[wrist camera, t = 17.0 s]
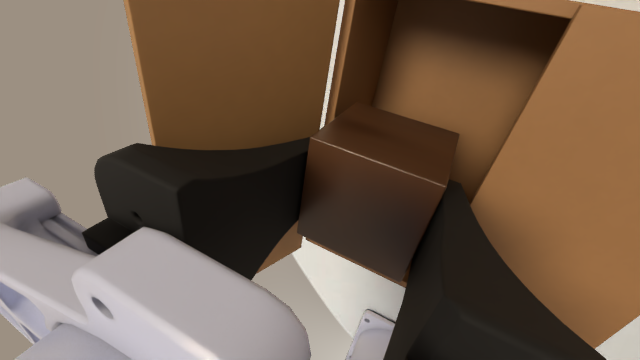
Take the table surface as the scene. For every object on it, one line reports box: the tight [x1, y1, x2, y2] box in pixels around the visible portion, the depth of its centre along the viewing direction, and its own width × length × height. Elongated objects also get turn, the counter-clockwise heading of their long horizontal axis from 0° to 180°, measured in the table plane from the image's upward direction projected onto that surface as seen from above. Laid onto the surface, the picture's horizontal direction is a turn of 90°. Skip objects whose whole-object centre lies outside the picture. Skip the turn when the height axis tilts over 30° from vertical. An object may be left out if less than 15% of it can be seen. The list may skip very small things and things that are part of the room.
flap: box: [124, 0, 340, 273], centre depth 11 cm, size 6×13×1 cm
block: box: [297, 102, 460, 282], centre depth 11 cm, size 4×4×4 cm
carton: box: [306, 0, 640, 349], centre depth 14 cm, size 13×13×7 cm
